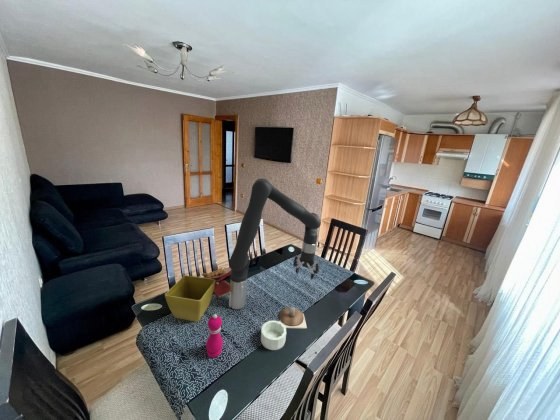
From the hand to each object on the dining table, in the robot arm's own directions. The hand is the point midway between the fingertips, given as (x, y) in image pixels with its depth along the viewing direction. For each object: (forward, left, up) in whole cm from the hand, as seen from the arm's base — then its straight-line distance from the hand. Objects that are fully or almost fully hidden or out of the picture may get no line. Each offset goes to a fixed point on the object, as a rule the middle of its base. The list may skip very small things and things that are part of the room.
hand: (304, 276), depth 125 cm
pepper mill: (-44, -27, -24) cm, 57 cm away
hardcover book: (-50, +19, -25) cm, 59 cm away
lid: (-6, -5, -24) cm, 25 cm away
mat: (-6, -5, -24) cm, 25 cm away
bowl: (-17, -20, -24) cm, 35 cm away
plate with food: (-46, +28, -25) cm, 59 cm away
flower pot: (-61, -3, -24) cm, 65 cm away
